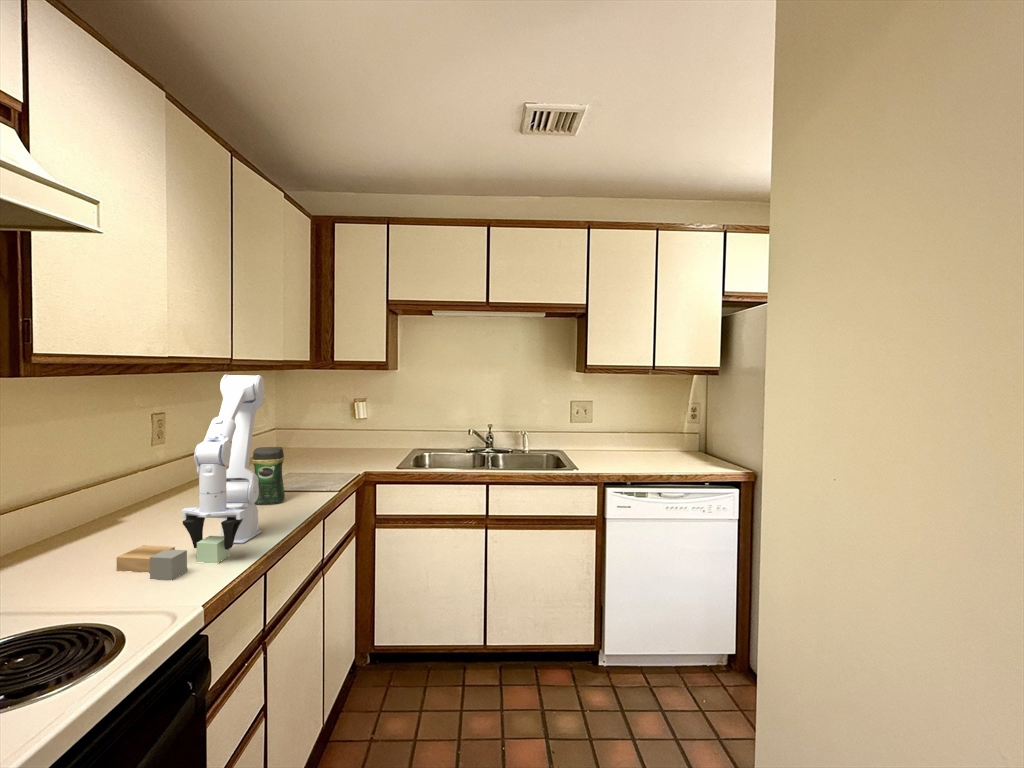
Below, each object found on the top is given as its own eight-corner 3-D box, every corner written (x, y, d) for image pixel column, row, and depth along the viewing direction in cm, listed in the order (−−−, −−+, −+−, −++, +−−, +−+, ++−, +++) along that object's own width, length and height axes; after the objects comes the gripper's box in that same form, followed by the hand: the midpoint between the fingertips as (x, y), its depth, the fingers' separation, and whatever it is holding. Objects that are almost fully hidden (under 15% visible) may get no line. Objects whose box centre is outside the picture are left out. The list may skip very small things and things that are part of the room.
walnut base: (143, 559, 131) (143, 545, 131) (174, 561, 131) (174, 546, 131) (116, 572, 124) (116, 557, 123) (149, 574, 123) (149, 559, 123)
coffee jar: (286, 498, 188) (286, 445, 187) (281, 504, 180) (281, 448, 179) (256, 499, 186) (255, 445, 185) (250, 505, 178) (249, 449, 177)
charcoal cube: (165, 571, 124) (165, 549, 124) (187, 571, 124) (186, 550, 124) (150, 579, 119) (149, 557, 119) (172, 580, 119) (171, 558, 119)
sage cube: (210, 555, 134) (209, 535, 134) (229, 556, 134) (229, 536, 133) (196, 563, 129) (196, 542, 129) (217, 564, 129) (217, 543, 128)
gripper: (172, 494, 127) (172, 552, 128) (232, 496, 126) (233, 554, 127) (192, 487, 134) (192, 542, 135) (249, 489, 133) (249, 544, 134)
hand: (213, 547), depth 131 cm, fingers open, 7 cm apart
